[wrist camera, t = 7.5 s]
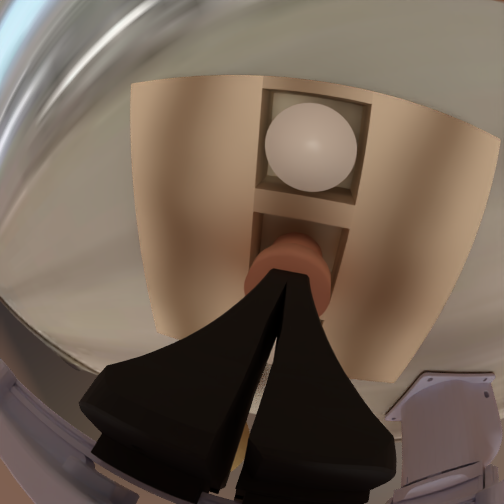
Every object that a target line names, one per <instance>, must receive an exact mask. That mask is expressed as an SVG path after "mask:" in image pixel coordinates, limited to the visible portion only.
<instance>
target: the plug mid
mask: <svg viewBox="0 0 504 504" xmlns="http://www.w3.org/2000/svg"><path fill="white" fill-rule="evenodd" d="M273 268H275V269H280V270H285V271H291V272H296V273H301V274H306V275H308V277H309V278H310V287H311V292H312V296H313V300H314V303H315V306H316V310H317V313H318V316H319V317H320V316H321V315H322V314H323V313H324V312H325V310H326V309H327V307H328V305H329V302H330V293H331V274H330V270H329V268H328V265H327V264H326V262H325V260H324V259H323V258H322V251H321V248H320V246H319V245H318V243H317V242H316V241H315V240H314V239H313V238H311V237H310V236H308V235H306V234H303V233H298V232H291V233H286V234H283V235H281V236H279V237H278V238H277V239H276V240H275V241H274V242H273V244H272V245H271V246H269V247H268V248H266V249H264V250H263V251H262V252H260V253H259V254H258V256H257V257H256V258H255V260H254V262H253V264H252V266H251V268H250V270H249V272H248V274H247V276H246V279H245V283H244V293H245V296H246V295H247V294H248V293H249V292H250V291H251V290H252V289H253V288H254V287H255V286H256V285H257V284H258V283H259V282H260V281H261V280H262V279H263V278H264V277H265V276H266V274H267V273H268V272H269V271H270V270H271V269H273Z"/></svg>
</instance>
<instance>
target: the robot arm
mask: <svg viewBox="0 0 504 504" xmlns="http://www.w3.org/2000/svg"><path fill="white" fill-rule="evenodd" d="M276 337H277V339H276ZM275 340H276V345H275V352H274V358H273V363H272V367H271V370H270V373H269V377H268V380H267V383H266V387H265V390H264V393H263V396H262V399H261V402H260V405H259V408H258V411H257V414H256V417H255V420H254V424H253V426H252V429H251V432H250V435H249V438H248V443H247V448H246V453H245V459H244V464H243V468H242V471H241V474H240V476H239V479H238V482H237V485H236V494H235V497H234V501H233V500H229V499H225V498H222V497H218V496H214V495H211V494H208V493H209V491H210V492H213V493H216V494H218V493H219V490H220V489H222V488H224V487H225V486H226V483H227V480H228V477H229V474H230V471H231V468H232V465H233V462H234V459H235V456H236V452H237V449H238V446H239V443H240V440H241V437H242V433H243V430H244V427H245V424H246V421H247V417H248V414H249V411H250V408H251V404H252V401H253V398H254V394H255V392H256V389H257V386H258V383H259V381H260V379H261V376H262V374H263V371H264V369H265V366H266V364H267V361H268V358H269V356H270V353H271V351H272V348H273V345H274V343H275ZM494 379H495V374H494V373H487V374H452V373H423V374H422V375H421V376H420V377H419V378H418V379H417V380H416V382H415V383H414V384H413V385H412V387H411V388H410V389H409V390H408V391H407V392H406V394H405V395H404V396H403V397H402V398H401V399H400V400H399V401H398V403H397V404H396V405H395V406H394V407H393V408H392V409H391V410H390V411H389V412H388V413H387V414H386V415H385V420H387V421H401V423H402V478H401V488H400V489H396V490H394V495H393V497H392V498H390V499H389V500H388V501H387V502H386V503H385V504H504V480H502V481H500V482H499V477H498V467H496V466H493V465H492V464H490V463H491V461H492V460H493V459H494V458H495V456H496V455H497V453H498V451H499V448H500V445H501V440H502V426H501V421H500V417H499V412H498V408H497V404H496V400H495V396H494V393H493V389H492V386H491V382H492V381H493V380H494ZM79 406H80V409H81V411H82V412H83V413H84V414H85V415H86V417H87V418H88V419H89V420H90V421H91V422H92V423H93V424H94V425H95V426H96V427H97V428H98V429H99V430H100V431H101V432H102V435H101V436H100V438H99V439H98V441H97V442H96V441H94V440H93V439H91V438H89V437H88V436H86V435H85V434H83V433H82V432H80V431H79V430H78V429H76V428H75V427H73V426H72V425H70V424H69V423H68V422H66V421H65V420H64V419H62V418H61V417H60V416H59V415H57V414H56V413H54V412H53V411H52V410H51V409H50V408H48V407H47V406H46V405H45V404H44V403H43V402H41V401H40V400H39V399H38V398H37V397H35V396H34V395H33V394H32V393H31V392H30V391H29V390H28V389H27V388H26V387H25V386H23V384H22V383H20V382H19V381H18V380H17V378H16V376H15V375H14V374H13V372H12V371H11V370H10V369H9V367H8V366H7V365H6V364H5V363H4V362H3V361H2V360H1V358H0V457H1V459H2V460H3V462H4V463H5V465H6V466H7V468H8V469H9V471H10V472H11V474H12V475H13V476H14V478H15V479H16V481H17V482H18V483H19V485H20V486H21V487H22V488H23V490H24V491H25V492H26V493H27V495H28V496H29V497H30V498H31V499H32V501H33V502H34V503H35V504H136V503H137V500H138V499H139V495H138V494H137V493H135V492H133V491H131V490H129V489H127V488H125V487H124V486H122V485H120V484H118V483H116V482H115V481H113V480H111V479H109V478H107V477H106V476H104V475H102V474H101V473H99V472H98V471H96V469H95V464H94V462H95V463H97V464H99V465H100V466H102V467H103V468H105V469H107V470H109V471H110V472H112V473H114V474H115V475H117V476H119V477H121V478H123V479H124V480H126V481H128V482H130V483H132V484H134V485H136V486H138V487H140V488H142V489H144V490H146V491H148V492H150V493H152V494H155V495H157V496H159V497H161V498H164V499H166V500H169V501H171V502H173V503H176V504H364V503H367V502H368V500H369V494H370V490H371V489H374V488H376V487H378V486H380V485H382V484H385V483H386V482H388V481H390V480H391V479H392V478H393V477H394V476H395V474H396V450H395V443H394V437H393V435H392V434H391V433H390V432H389V431H388V430H387V429H386V427H385V426H384V425H383V424H382V423H381V422H380V421H379V420H378V418H377V417H376V416H375V415H374V414H373V412H372V411H371V410H370V408H369V407H368V406H367V404H366V403H365V402H364V400H363V399H362V398H361V396H360V395H359V393H358V392H357V390H356V389H355V387H354V386H353V384H352V383H351V381H350V380H349V378H348V376H347V375H346V373H345V372H344V370H343V368H342V366H341V365H340V363H339V361H338V359H337V357H336V355H335V353H334V351H333V349H332V347H331V345H330V343H329V341H328V339H327V336H326V334H325V331H324V329H323V327H322V324H321V321H320V319H319V316H318V313H317V310H316V306H315V303H314V300H313V296H312V292H311V287H310V278H309V277H308V275H306V274H301V273H296V272H291V271H285V270H280V269H275V268H273V269H271V270H270V271H269V272H268V273H267V274H266V276H265V277H264V278H263V279H262V280H261V281H260V282H259V283H258V284H257V285H256V286H255V287H254V288H253V289H252V290H251V291H250V292H249V293H248V294H247V295H246V296H245V297H244V298H242V299H241V300H240V301H239V302H238V303H236V304H235V305H234V306H233V307H231V308H230V309H229V310H228V311H226V312H225V313H224V314H222V315H221V316H220V317H218V318H217V319H215V320H214V321H212V322H211V323H209V324H208V325H206V326H205V327H203V328H201V329H200V330H198V331H196V332H194V333H192V334H191V335H189V336H187V337H185V338H183V339H181V340H179V341H177V342H175V343H173V344H170V345H168V346H166V347H163V348H161V349H158V350H156V351H154V352H151V353H149V354H146V355H143V356H140V357H137V358H133V359H130V360H126V361H123V362H119V363H115V364H111V365H107V366H106V367H105V368H104V370H103V371H102V372H101V373H100V374H99V375H98V376H97V378H96V379H95V380H94V382H93V383H92V385H91V386H90V388H89V389H88V390H87V392H86V393H85V394H84V396H83V397H82V399H81V400H80V402H79ZM93 461H94V462H93ZM488 464H490V465H488ZM487 465H488V466H487Z"/></svg>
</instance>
